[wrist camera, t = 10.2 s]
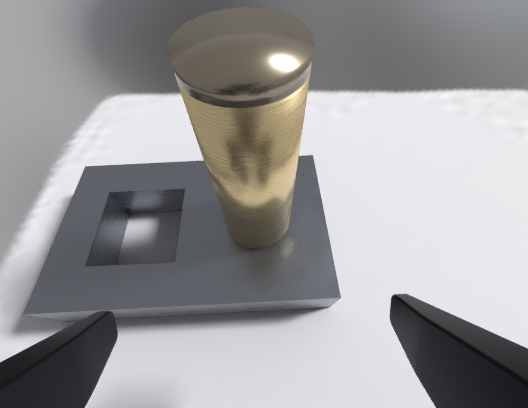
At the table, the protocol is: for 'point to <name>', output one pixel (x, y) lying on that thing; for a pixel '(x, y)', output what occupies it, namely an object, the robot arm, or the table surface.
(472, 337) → the robot arm
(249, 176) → the gold metal can
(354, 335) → the table surface
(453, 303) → the table surface
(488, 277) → the table surface
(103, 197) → the plate
